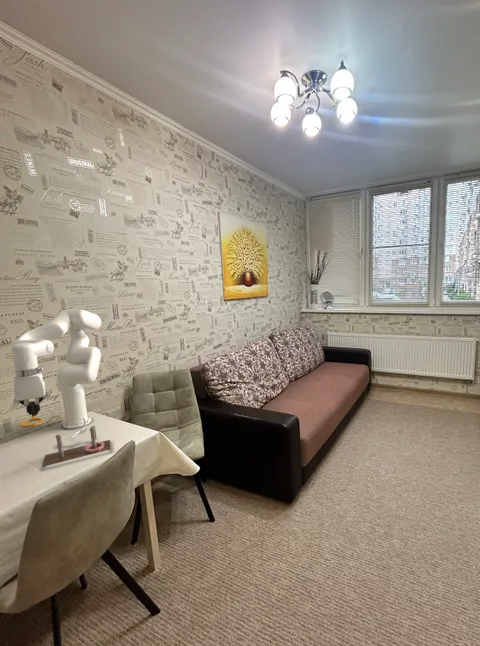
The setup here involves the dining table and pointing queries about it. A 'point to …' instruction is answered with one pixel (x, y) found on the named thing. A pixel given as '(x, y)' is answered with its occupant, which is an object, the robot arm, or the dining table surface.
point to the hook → (78, 431)
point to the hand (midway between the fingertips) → (34, 413)
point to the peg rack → (73, 450)
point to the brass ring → (40, 420)
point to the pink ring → (96, 444)
